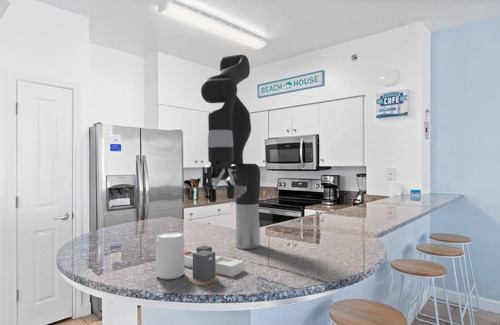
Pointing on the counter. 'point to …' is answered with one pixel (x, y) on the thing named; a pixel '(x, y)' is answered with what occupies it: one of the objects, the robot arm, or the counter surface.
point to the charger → (204, 265)
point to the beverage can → (170, 255)
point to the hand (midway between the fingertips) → (221, 200)
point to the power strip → (217, 262)
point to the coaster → (198, 282)
